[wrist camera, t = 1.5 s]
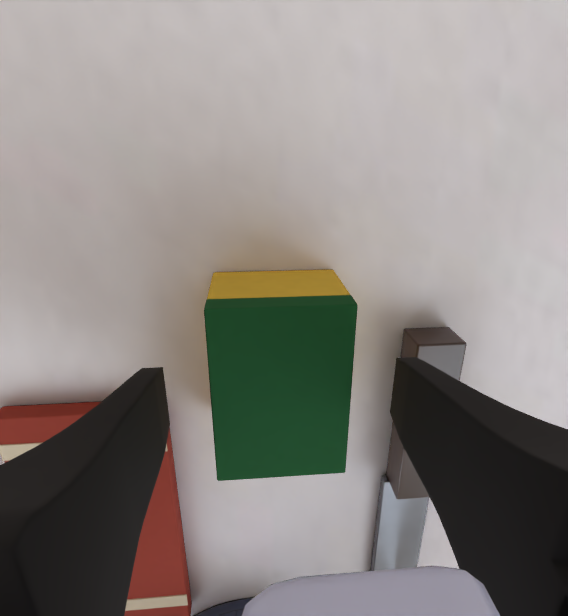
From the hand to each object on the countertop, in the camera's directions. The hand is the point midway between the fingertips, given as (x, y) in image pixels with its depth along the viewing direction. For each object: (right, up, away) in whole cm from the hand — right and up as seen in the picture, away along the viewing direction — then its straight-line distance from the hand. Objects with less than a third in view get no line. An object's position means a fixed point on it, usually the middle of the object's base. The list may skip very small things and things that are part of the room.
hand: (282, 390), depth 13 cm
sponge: (0, +1, +3) cm, 3 cm away
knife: (+5, -8, +7) cm, 12 cm away
